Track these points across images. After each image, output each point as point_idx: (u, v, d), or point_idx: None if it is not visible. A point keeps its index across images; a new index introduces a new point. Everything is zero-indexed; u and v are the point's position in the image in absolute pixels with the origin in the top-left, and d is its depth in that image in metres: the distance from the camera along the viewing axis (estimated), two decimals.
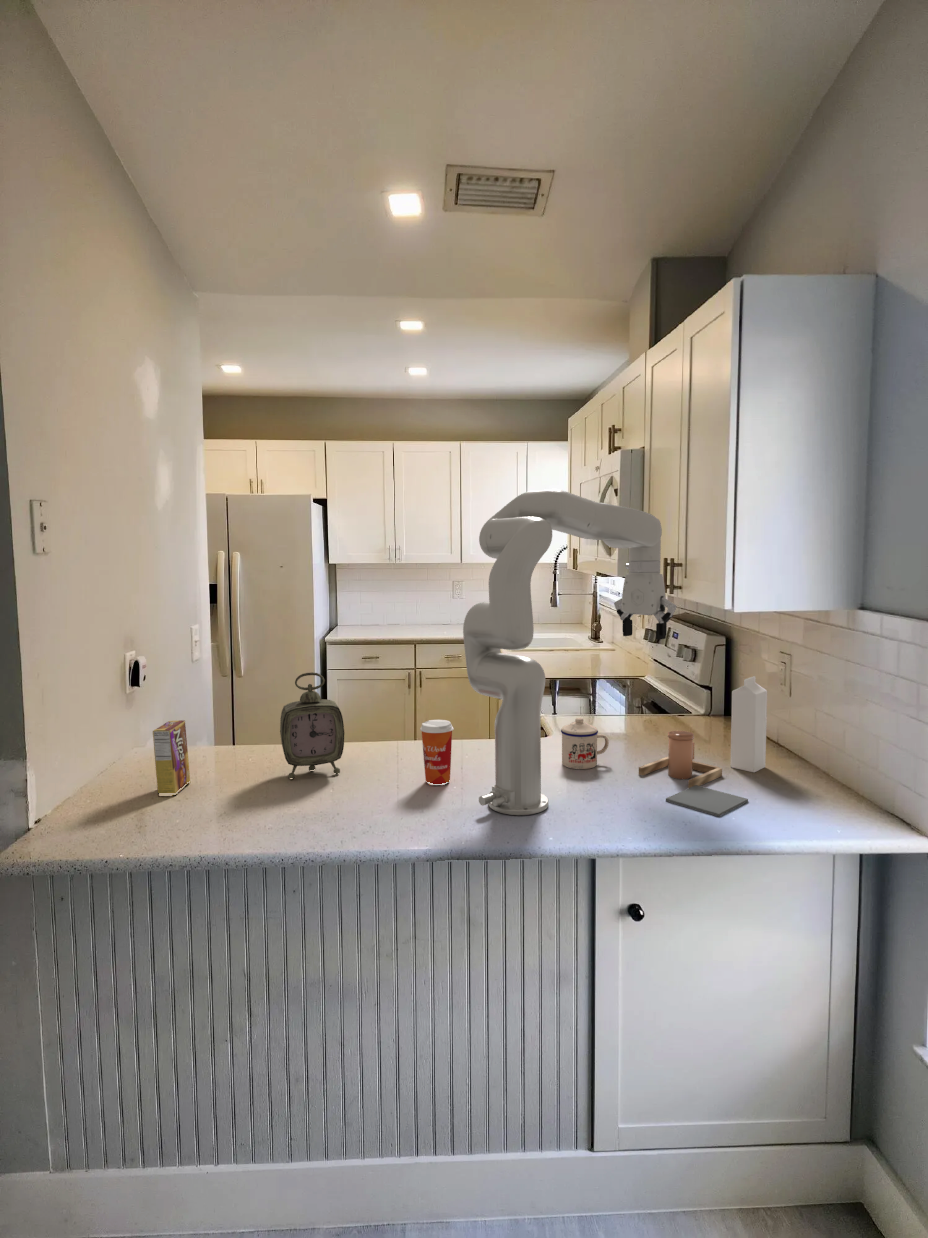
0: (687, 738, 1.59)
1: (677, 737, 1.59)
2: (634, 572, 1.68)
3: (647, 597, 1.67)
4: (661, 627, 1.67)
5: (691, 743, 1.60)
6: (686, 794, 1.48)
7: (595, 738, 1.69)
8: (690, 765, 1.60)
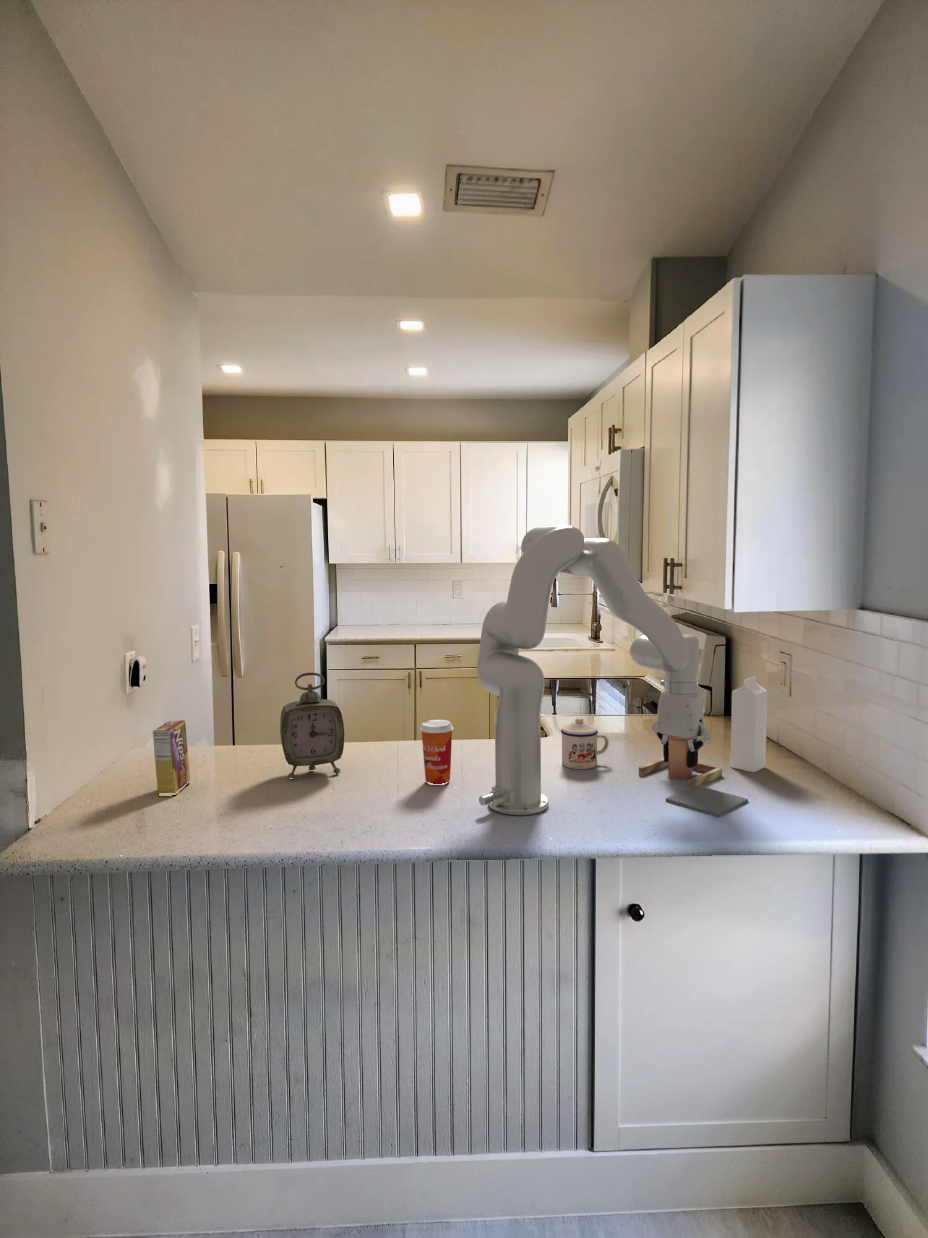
0: None
1: (677, 737, 1.59)
2: (671, 693, 1.59)
3: (685, 720, 1.58)
4: (692, 755, 1.59)
5: None
6: (686, 794, 1.48)
7: (595, 738, 1.69)
8: None
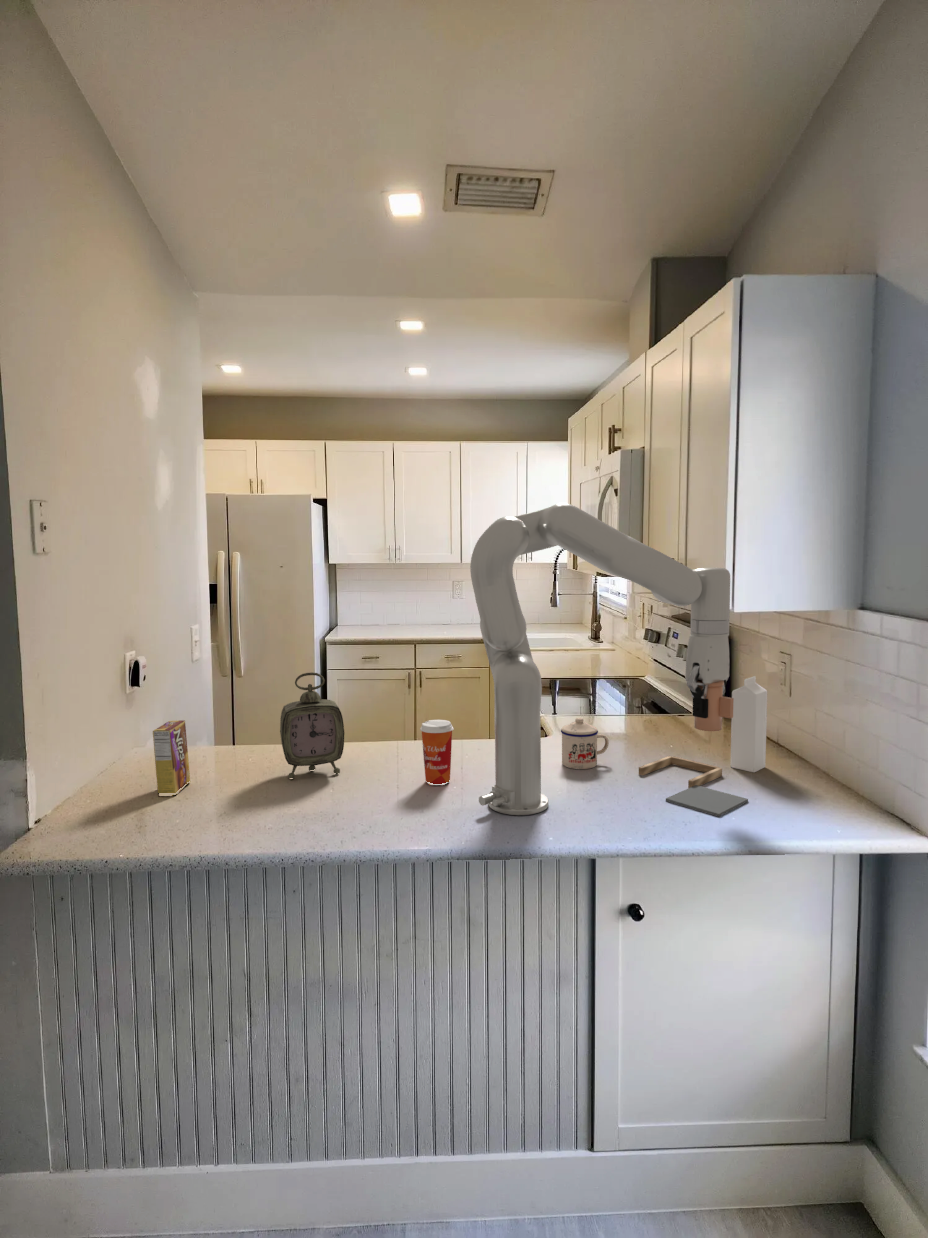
0: None
1: None
2: None
3: None
4: None
5: None
6: (686, 794, 1.48)
7: (595, 738, 1.69)
8: None
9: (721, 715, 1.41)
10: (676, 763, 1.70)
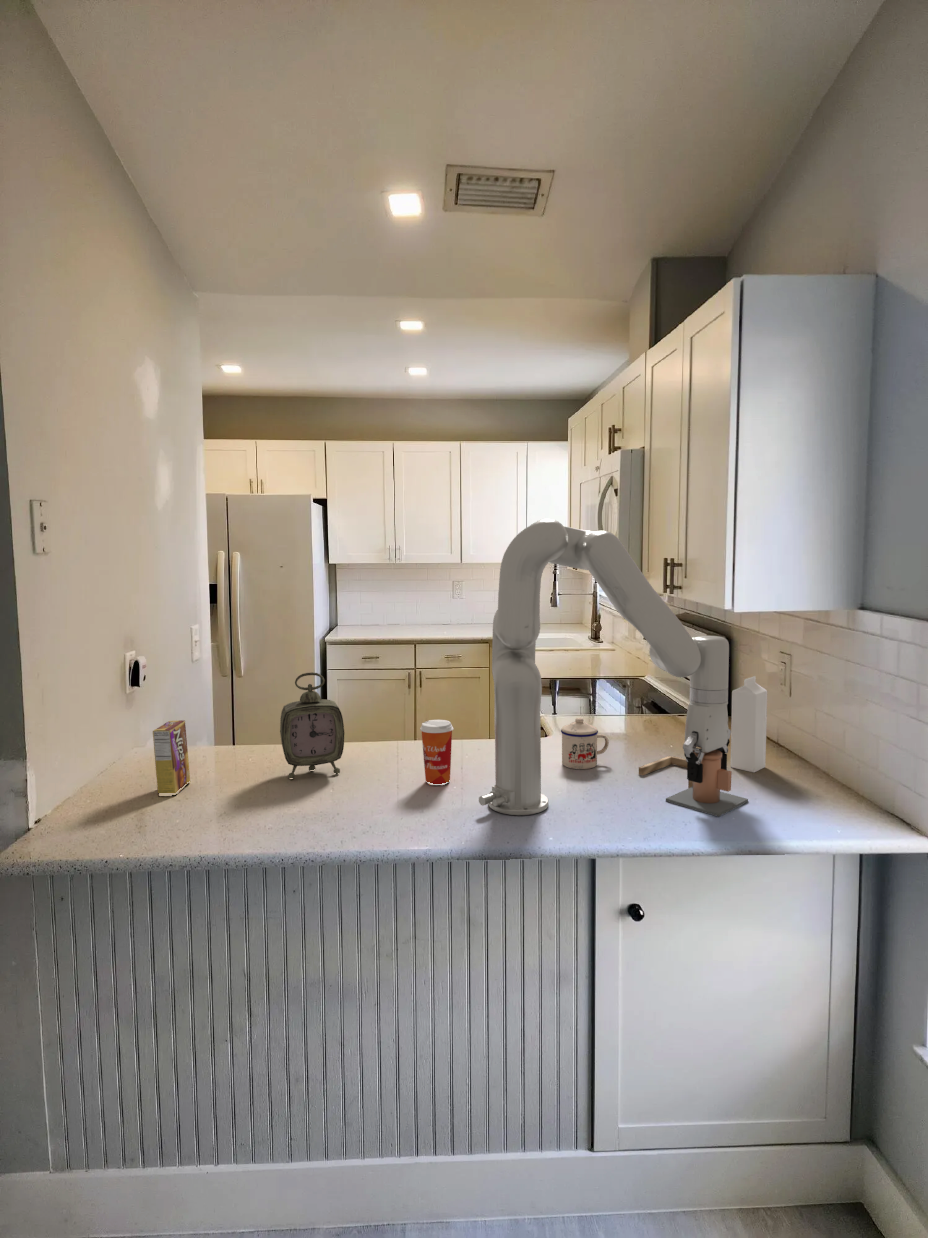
0: None
1: None
2: None
3: None
4: None
5: (701, 763, 1.43)
6: (686, 794, 1.48)
7: (595, 738, 1.69)
8: (699, 787, 1.44)
9: (719, 788, 1.43)
10: (676, 763, 1.70)
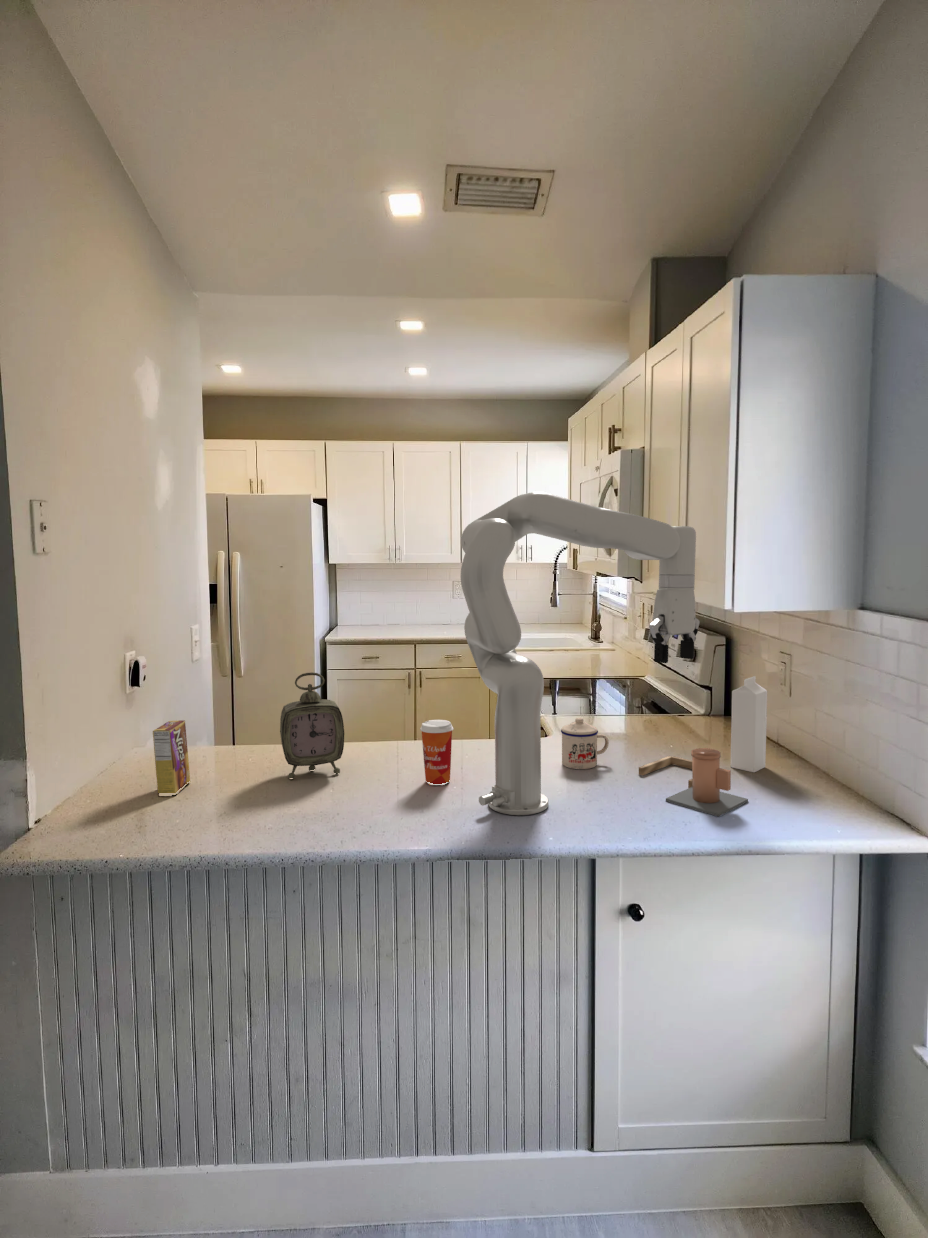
0: (693, 755, 1.44)
1: (691, 751, 1.46)
2: None
3: None
4: None
5: (700, 763, 1.43)
6: (686, 794, 1.48)
7: (595, 738, 1.69)
8: (699, 787, 1.44)
9: (719, 787, 1.43)
10: (676, 763, 1.70)
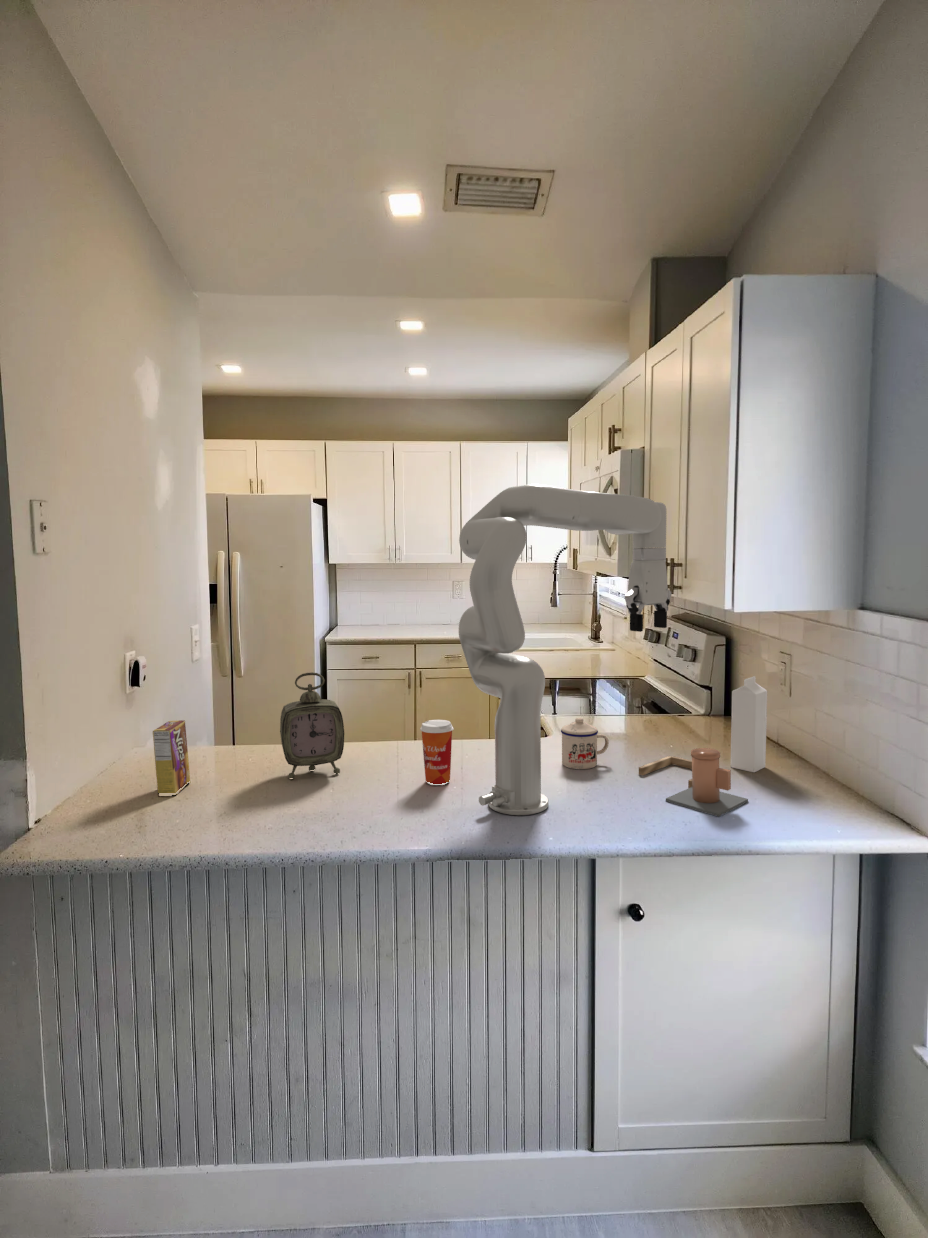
0: (693, 755, 1.44)
1: (691, 751, 1.46)
2: None
3: None
4: None
5: (700, 764, 1.43)
6: (686, 794, 1.48)
7: (595, 738, 1.69)
8: (699, 788, 1.44)
9: (719, 787, 1.43)
10: (676, 763, 1.70)
